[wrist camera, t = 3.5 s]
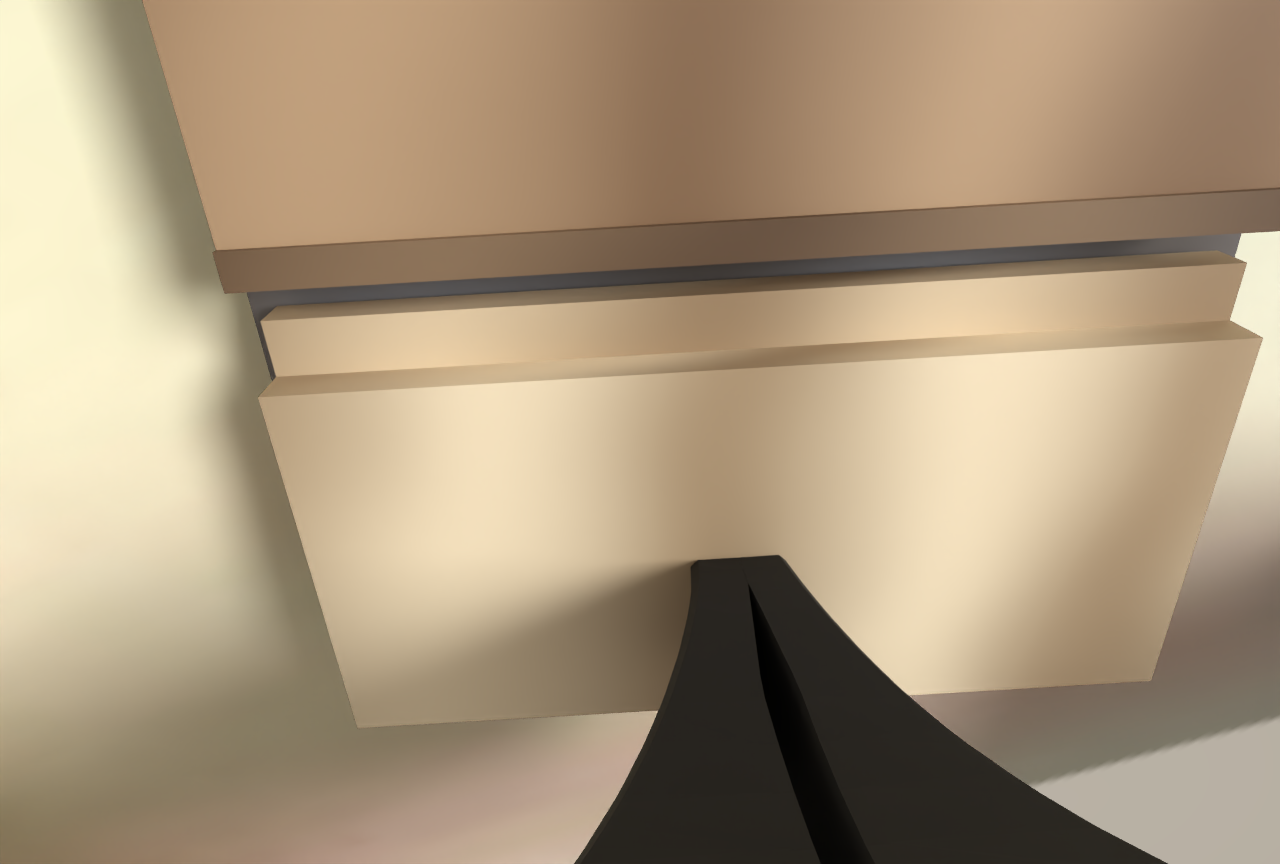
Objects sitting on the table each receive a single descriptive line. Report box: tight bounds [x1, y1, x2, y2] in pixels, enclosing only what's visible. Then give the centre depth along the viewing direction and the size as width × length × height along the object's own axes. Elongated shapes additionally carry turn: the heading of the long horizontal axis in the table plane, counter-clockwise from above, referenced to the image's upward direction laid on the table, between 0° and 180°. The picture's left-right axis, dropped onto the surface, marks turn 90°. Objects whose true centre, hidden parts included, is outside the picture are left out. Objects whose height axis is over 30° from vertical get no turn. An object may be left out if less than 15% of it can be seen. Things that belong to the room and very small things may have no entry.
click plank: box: [258, 250, 1263, 728], centre depth 12 cm, size 13×7×2 cm, turn 93°
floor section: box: [142, 0, 1280, 381], centre depth 11 cm, size 14×14×2 cm
